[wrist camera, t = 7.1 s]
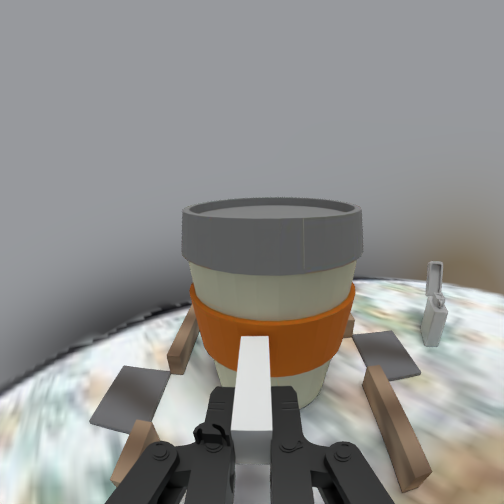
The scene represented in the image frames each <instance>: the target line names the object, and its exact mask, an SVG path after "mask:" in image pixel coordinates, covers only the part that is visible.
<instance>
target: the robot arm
mask: <svg viewBox="0 0 504 504" xmlns="http://www.w3.org/2000/svg"><path fill="white" fill-rule="evenodd" d="M193 434H194V437H195V441H196V442H194V443H192V444H189V445H184V446H176V447H174V446H173V445H172V444H170V443H169V442H165V441H156V442H153V443H151V444H149V445H148V446H147V447H146V448H145V450H144V451H143V453H142V454H141V455H140V457H139V458H138V459H137V461H136V462H135V464H134V465H133V466H132V468H131V469H130V470H129V472H128V473H127V475H126V476H125V477H124V479H123V480H122V481H121V483H120V484H119V485H118V487H117V488H116V489H115V491H114V492H113V493H112V495H111V496H110V497H109V499H108V500H107V501H106V503H105V504H179V503H180V501H181V499H182V498H183V496H184V494H185V492H186V490H187V493H186V498H185V503H184V504H233V501H234V488H235V463H236V464H247V465H267V464H270V497H271V504H314V498H313V490H312V487H317V488H318V490H319V492H320V494H321V496H322V498H323V501H324V503H325V504H395V503H394V502H393V500H392V499H391V497H390V496H389V494H388V493H387V491H386V490H385V488H384V487H383V485H382V484H381V482H380V480H379V479H378V477H377V476H376V474H375V473H374V471H373V470H372V468H371V467H370V465H369V464H368V462H367V461H366V459H365V458H364V456H363V455H362V453H361V452H360V450H359V448H358V447H357V446H356V445H354V444H352V443H350V442H344V441H342V442H336V443H334V444H333V445H331V446H330V447H326V446H319V445H315V444H312V443H310V442H309V441H308V440H306V438H305V437H304V436H303V432H302V425H301V418H300V411H299V404H298V398H297V392H296V391H295V390H294V389H293V387H292V386H271V381H270V359H269V338H268V336H241V341H240V350H239V359H238V368H237V377H236V386H235V387H216V388H215V389H214V390H213V391H212V393H211V394H210V399H209V404H208V410H207V414H206V418H205V422H204V423H201V424H199V425H198V426H197V427H196V428H195V430H194V431H193Z"/></svg>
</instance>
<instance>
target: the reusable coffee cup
mask: <svg viewBox="0 0 504 504" xmlns="http://www.w3.org/2000/svg"><path fill="white" fill-rule="evenodd" d="M362 253H363V229H362V211H361V208H360V207H359V206H357V205H354V204H350V203H345V202H341V201H334V200H324V199H313V198H293V197H265V198H241V199H228V200H219V201H211V202H205V203H199V204H195V205H191V206H188V207H186V208H184V209H183V216H182V255H183V257H185V259H187V261H189V266H190V270H191V274H192V279H193V283H192V284H191V287H190V296H191V300H192V304H193V308H194V312H195V315H196V319H197V323H198V326H199V330H200V333H201V337H202V340H203V344H204V347H205V349H206V350H207V352H208V354H209V355H210V356H211V357H212V358H213V359H214V362H215V366H216V369H217V372H218V376H219V379H220V382H221V385H222V387H235V386H236V377H237V368H238V359H239V350H240V341H241V336H268V338H269V359H270V381H271V386H292V387H293V389H294V390H295V391H296V392H297V398H298V404H299V409H301V408H303V407H305V406H307V405H308V404H309V403H311V402H312V401H313V400H314V399H315V398H316V396H317V395H318V393H319V391H320V389H321V387H322V384H323V381H324V378H325V375H326V372H327V369H328V366H329V363H330V360H331V358H332V357H333V356H334V355H335V354H336V353H337V351H338V349H339V347H340V345H341V342H342V339H343V336H344V332H345V329H346V326H347V322H348V319H349V315H350V311H351V308H352V304H353V300H354V296H355V286H354V284H353V282H352V280H353V276H354V271H355V267H356V262H357V259H358V258H359V257H361V255H362Z"/></svg>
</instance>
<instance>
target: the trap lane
mask: <svg viewBox="0 0 504 504" xmlns="http://www.w3.org/2000/svg"><path fill="white" fill-rule="evenodd" d="M354 322H355V320H354V318H353V316H352V314H351V313H350V315H349V319H348V322H347V326H346V329H345V332H344V336H343V338H346V337H352V338H353V340H354V342H355V344H356V346H357V348H358V350H359V352H360V354H361V356H362V358H363V360H364V362H365V365H366V367H367V369H366V373H365V377H364V381H363V384H362V386H363V389H364V391H365V393H366V396H367V398H368V401H369V403H370V406H371V408H372V411H373V413H374V416H375V418H376V421H377V424H378V426H379V429H380V431H381V434H382V437H383V439H384V442H385V445H386V448H387V450H388V453H389V456H390V459H391V461H392V464H393V467H394V470H395V473H396V476H397V479H398V482H399V484H400V487H401V491H402V493H403V492H406V491H409V490H412V489H415V488H418V487H419V486H420V485H421V484H422V483H423V482H424V481H425V479H426V478H427V477H428V476H429V475H430V474H431V473H432V470H431V468H430V465H429V463H428V461H427V459H426V456H425V454H424V452H423V450H422V448H421V445H420V443H419V441H418V439H417V437H416V435H415V433H414V431H413V428H412V426H411V424H410V422H409V420H408V418H407V416H406V414H405V412H404V410H403V408H402V406H401V404H400V402H399V400H398V398H397V396H396V394H395V392H394V390H393V389H392V387H391V385H390V383H389V381H392V380H397V379H402V378H407V377H412V376H417V375H420V374H421V371H420V370H419V368H418V367H417V365H416V364H415V362H414V361H413V360H412V358H411V357H410V355H409V354H408V352H407V351H406V350H405V348H404V347H403V345H402V344H401V343H400V341H399V340H398V338H397V337H396V336H395V334H394V333H393V332H392V331H384V332H375V333H366V334H355V335H352V334H353V328H354ZM199 331H200V330H199V326H198V323H197V319H196V315H195V312H194V308H193V304H192V305H191V307H190V309H189V311H188V313H187V315H186V317H185V319H184V321H183V323H182V325H181V327H180V329H179V331H178V333H177V335H176V337H175V339H174V341H173V343H172V346H171V348H170V350H169V352H168V354H167V359H168V363H169V368H170V371H163V370H154V369H145V368H138V367H131V366H123V368H122V369H121V371H120V372H119V374H118V375H117V377H116V379H115V380H114V382H113V383H112V385H111V386H110V388H109V390H108V391H107V393H106V394H105V396H104V398H103V399H102V401H101V402H100V404H99V406H98V407H97V409H96V411H95V412H94V414H93V415H92V417H91V419H90V420H89V422H90V423H91V424H94V425H97V426H101V427H104V428H108V429H112V430H115V431H119V432H123V433H128V434H130V435H129V437H128V439H127V441H126V444H125V446H124V448H123V451H122V453H121V455H120V457H119V460H118V462H117V464H116V467H115V469H114V471H113V474H112V476H111V478H110V480H111V481H112V483H113V484H114V485H115V486H116V487H118V485H119V484H120V483H121V481H122V480H123V479H124V477H125V476H126V475H127V473H128V472H129V470H130V469H131V468H132V466H133V465H134V464H135V462H136V461H137V459H138V458H139V457H140V455H141V454H142V453H143V451H144V450H145V448H146V447H147V446H148V445H149V444H151V443H153V442H156V441H160V439H159V437H158V435H157V432H156V430H155V428H154V425H153V423H152V422H151V421H152V418H153V416H154V413H155V411H156V409H157V406H158V404H159V401H160V399H161V396H162V394H163V392H164V389H165V387H166V384H167V382H168V380H169V377H170V375H171V374H180V375H183V374H184V371H185V368H186V366H187V363H188V360H189V357H190V355H191V352H192V349H193V347H194V344H195V341H196V339H197V336H198V333H199Z"/></svg>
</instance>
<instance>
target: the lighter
mask: <svg viewBox="0 0 504 504" xmlns="http://www.w3.org/2000/svg"><path fill="white" fill-rule="evenodd" d="M442 274H443V263H442V262H438V261H431V262H429V263H428V270H427V284H426V294H425V295H426V296H427V297H428V299H427V304H426V308H425V312H424V317H423V320H422V324H421V328H420V329H421V333H422V337H423V341H424V345H425V346H430V347H437V346H438V344H439V341H440V338H441V335H442V332H443V328H444V325H445V322H446V318H447V314H448V311H447V309H446V307H445V305H444V303H445V298H444V296H443V294H442V293H441V288H442Z"/></svg>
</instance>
